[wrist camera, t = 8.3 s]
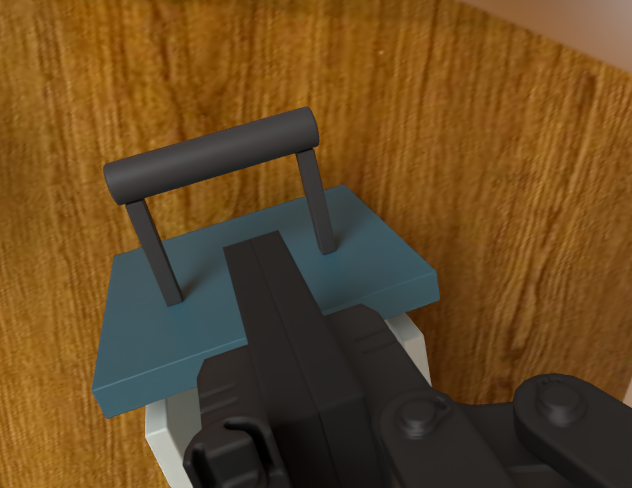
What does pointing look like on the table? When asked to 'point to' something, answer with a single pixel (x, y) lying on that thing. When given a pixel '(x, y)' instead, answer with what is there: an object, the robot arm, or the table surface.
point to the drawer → (215, 282)
